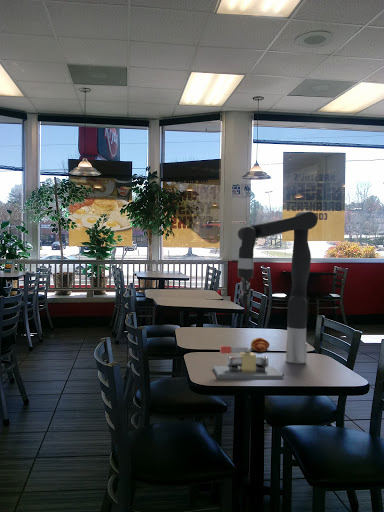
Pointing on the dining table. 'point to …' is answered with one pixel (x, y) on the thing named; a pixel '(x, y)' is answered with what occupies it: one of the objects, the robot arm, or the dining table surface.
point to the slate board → (225, 373)
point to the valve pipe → (247, 363)
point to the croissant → (259, 344)
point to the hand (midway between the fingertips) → (244, 303)
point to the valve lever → (234, 349)
